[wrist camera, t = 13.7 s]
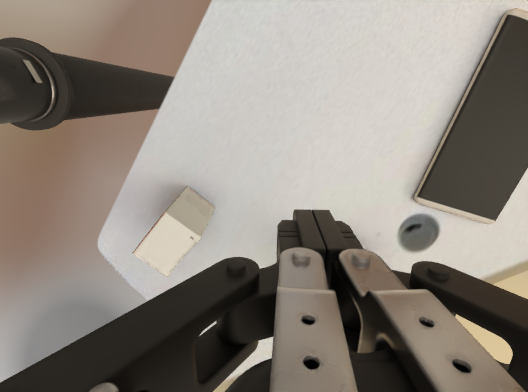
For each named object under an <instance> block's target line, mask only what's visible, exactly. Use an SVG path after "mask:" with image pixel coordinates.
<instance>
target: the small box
mask: <svg viewBox="0 0 528 392" xmlns="http://www.w3.org/2000/svg"><path fill="white" fill-rule="evenodd" d="M214 209H215V207H214V206H213V205H211V204H210V203H209V202H207V201H206V200H205V199H203V198H202V197H201V196H200V195H198V194H197V193H196V192H194V191H193V190H192V189H190V188H189V187H186V188H185V189H184V191H183V192H182V193H181V194H180V195H179V196H178V197H177V199H176V200H175V201H174V202H173V203H172V204H171V206H170V207H169V208H168V209H167V210H166V211H165V212H164V214H163V215H162V216H161V217H160V219H159V220H158V221H157V222H156V223H155V225H154V226H153V227H152V228H151V230H150V231H149V232H148V233H147V235H146V236H145V237H144V239H143V240H142V241H141V243H140V244H139V245H138V247H137V248H136V249H135V250H134V252H133V254H134V255H135V256H137V257H138V258H140V259H141V260H143V261H144V262H146V263H147V264H148V265H150V266H151V267H153V268H154V269H156V270H157V271H159V272H160V273H162V274H163V275H164V276H166V277H168V276H169V274H170V273H171V272H172V270H173V269H174V268H175V267H176V265H177V264H178V263H179V262H180V261H181V260H182V259H183V257H184V256H185V255H186V254H187V253H188V252H189V250H190V249H191V248H192V247H193V246H194V245H195V244H196V243H197V242H198V241H199V240H200V239H201V237H202V235H203V233H204V231H205V229H206V227H207V225H208V222H209V220H210V218H211V216H212V214H213V211H214Z"/></svg>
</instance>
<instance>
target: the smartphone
mask: <svg viewBox="0 0 528 392" xmlns="http://www.w3.org/2000/svg"><path fill="white" fill-rule="evenodd" d="M527 168H528V12H526V11H524V10H521V9H518V8H515V9H512V10H509V11H507V12H506V13H505V14H504V16H503V18H502V20H501V22H500V24H499V26H498V28H497V30H496V32H495V34H494V36H493V38H492V40H491V42H490V44H489V46H488V48H487V50H486V52H485V54H484V56H483V58H482V60H481V62H480V64H479V66H478V68H477V70H476V72H475V74H474V76H473V79H472V81H471V83H470V85H469V87H468V89H467V91H466V93H465V95H464V97H463V99H462V101H461V103H460V105H459V107H458V109H457V111H456V113H455V115H454V117H453V119H452V121H451V123H450V125H449V127H448V129H447V131H446V133H445V135H444V137H443V139H442V141H441V143H440V145H439V147H438V149H437V151H436V153H435V155H434V157H433V159H432V161H431V163H430V166H429V168H428V170H427V172H426V174H425V176H424V178H423V180H422V182H421V184H420V186H419V188H418V190H417V192H416V194H415V196H414V199H415V201H416V202H417V203H419V204H421V205H425V206H428V207H431V208H435V209H438V210H441V211H445V212H448V213H451V214H455V215H458V216H461V217H465V218H468V219H471V220H475V221H478V222H481V223H485V224H492V223H494V222H495V221H496V219H497V217H498V216H499V214H500V212H501V211H502V209H503V208H504V206H505V204H506V203H507V201H508V199H509V198H510V196H511V194H512V193H513V191H514V189H515V188H516V186H517V184H518V183H519V181H520V180H521V178H522V176H523V175H524V173H525V171H526V170H527Z"/></svg>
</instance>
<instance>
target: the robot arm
mask: <svg viewBox="0 0 528 392" xmlns="http://www.w3.org/2000/svg"><path fill="white" fill-rule="evenodd" d="M57 101H58V87H57V83H56V80H55V77H54V75H53V73H52V72H51V70H50V69H49V67H48V66H47V65H46V64H45V62H44V61H42V60H41V59H40V58H39V57H38V56H36V55H35V54H33V53H31V52H29V51H26V50H23V49H19V48H13V47H3V46H0V124H5V123H15V122H32V121H39V120H42V119H44V118H46V117H48V116H49V115H50V114H51V113H52V112H53V110H54V109H55V107H56V104H57ZM456 314H458V315H459V316H461V317H463V318H465V319H467V320H469V321H471V322H473V323H475V324H477V325H479V326H480V327H482V328H484V329H486V330H488V331H490V332H492V333H494V334H496V335H498V336H500V337H502V338H503V339H504V340H505V341H506V342H507V343H508V344H509V345H510V347H511V349H512V351H513V357H512V360H511V362H510V364H504V363H501V362H499V361H497V360H495V359H494V358H493V357H492V356H491V355H490V354H489V353H488V352H487V351H486V349H485V348H484V347H483V346H482V345H481V344H480V343H479V342H478V341H477V340H476V339H475V338H474V337H473V336H472V335H471V334H470V333H469V331H467V329H466V328H465V327H464V326H463V325H462V324H461V323H460V322H459V321H458V320H457V319H456V318H455V315H456ZM216 320H217V323H216V324H215V325H214V326H212V327H211V328H210V329H208V330H207V331H206V332H204V333H203V334H202V335H200V334H201V332H202V331H203V330H204V329H206V328H207V327H208V326H210V325H211V324H212V323H214V322H215V321H216ZM199 335H200V336H199ZM273 336H274V337H273ZM269 337H273V350H272V358H271V359H268V360H265V361H263V362H261V363H259V364H256V365H254V366H253V367H251V368H250V369H248V370H247V371H245V372H244V373H243V374H242V375H241V376H239V377H238V378H237V379H236V380H235V381H234V382H233V383H232V384H231V385H230V387H229V388H228V389H227V390H226V391H225V392H528V299H526V298H523V297H521V296H518V295H516V294H514V293H511V292H509V291H506V290H504V289H501V288H499V287H497V286H494V285H492V284H489V283H487V282H485V281H482V280H480V279H477V278H475V277H472V276H470V275H468V274H465V273H463V272H460V271H458V270H455V269H453V268H451V267H448V266H446V265H443V264H440V263H435V262H428V261H422V262H417V263H415V264H413V266H412V270H411V274H409V273H404V272H399V271H394V270H391V269H390V268H389V267H388V266H387V264H386V263H385V262H384V261H383V260H382V258H381V257H379V256H378V255H377V254H375V253H373V252H370V251H367V250H364V249H363V247H362V245H361V244H360V242H359V241H358V239H356V236H355V234H353V231H352V230H351V228H350V226H348V225H347V224H345V223H343V222H342V221H335V220H334V218H333V216H332V215H331V213H330V211H329V210H312V211H311V210H294V213H293V220H282V221H281V222H280V223H279V224H278V233H277V262H276V263H275V264H274V265H272V266H269V267H266V268H261V269H259V266H258V264H257V263H256V262H254V261H253V260H251V259H248V258H243V257H232V258H227V259H224V260H222V261H220V262H218V263H216V264H214V265H212V266H211V267H209V268H207V269H205V270H203V271H202V272H200V273H198V274H196V275H194V276H193V277H191V278H189V279H187V280H185V281H184V282H182V283H180V284H178V285H176V286H174V287H173V288H171V289H169V290H167V291H165V292H164V293H162V294H160V295H158V296H156V297H155V298H153V299H151V300H149V301H147V302H146V303H144V304H142V305H140V306H138V307H137V308H135V309H133V310H131V311H129V312H128V313H126V314H124V315H122V316H120V317H118V318H117V319H115V320H113V321H111V322H109V323H108V324H106V325H104V326H102V327H100V328H99V329H97V330H95V331H93V332H91V333H89V334H88V335H86V336H84V337H82V338H80V339H79V340H77V341H75V342H73V343H71V344H70V345H68V346H66V347H64V348H62V349H61V350H59V351H57V352H55V353H53V354H51V355H50V356H48V357H46V358H44V359H42V360H41V361H39V362H37V363H35V364H33V365H32V366H30V367H28V368H26V369H24V370H23V371H21V372H19V373H18V374H15V375H13V376H12V377H10V378H8V379H6V380H4V381H3V382H1V383H0V392H213V391H214V390H215V389H216V388H217V387H218V386H219V385H220V384H221V383H222V382H223V381H224V380H225V379H226V378H227V377H228V376H229V375H230V374H231V373H232V372H233V371H234V370H235V369H236V368H237V367H238V366H239V365H240V364H241V363H242V362H243V361H244V360H246V359H247V358H248V357H249V356H250V355H251V354H252V353H253V352H254V351H255V349H256V348H257V345H258V340H262V339H266V338H269Z"/></svg>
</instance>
